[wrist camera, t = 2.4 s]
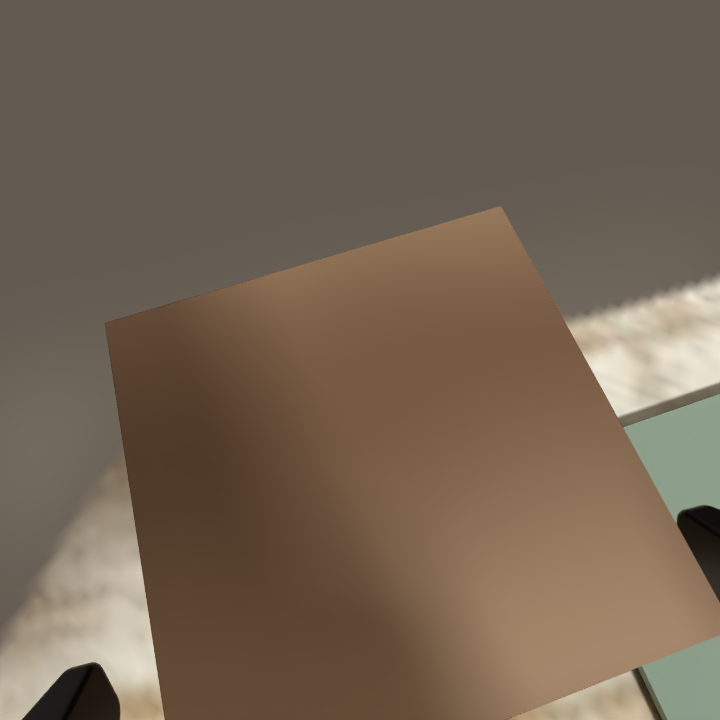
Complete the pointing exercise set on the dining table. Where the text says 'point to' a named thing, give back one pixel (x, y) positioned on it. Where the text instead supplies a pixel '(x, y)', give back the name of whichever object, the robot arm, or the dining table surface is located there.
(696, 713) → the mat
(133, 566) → the dining table surface
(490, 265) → the letter block
